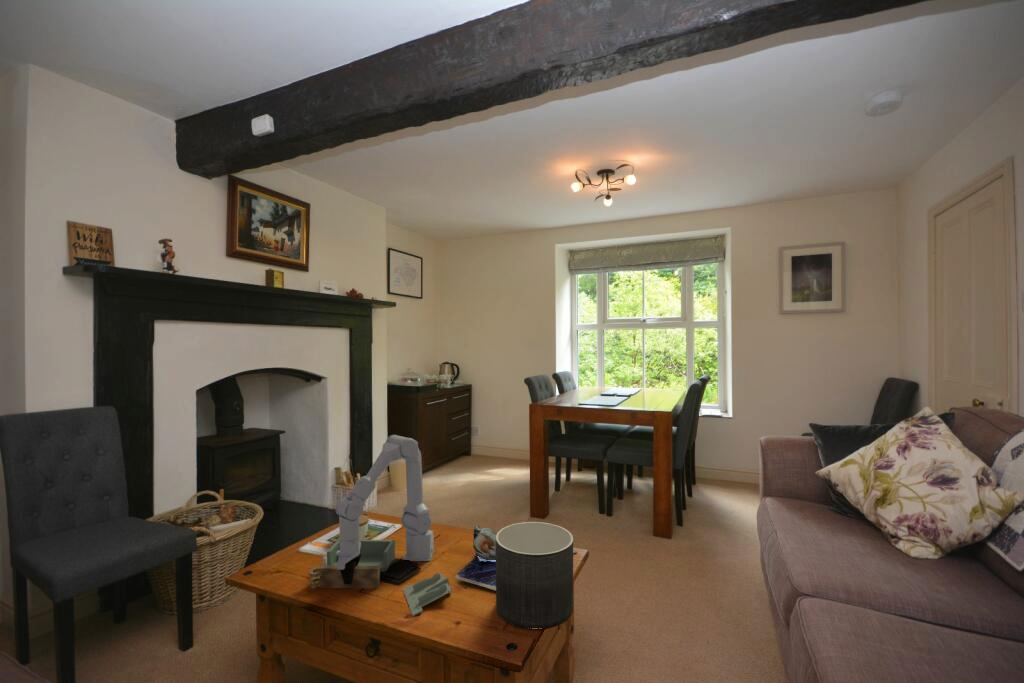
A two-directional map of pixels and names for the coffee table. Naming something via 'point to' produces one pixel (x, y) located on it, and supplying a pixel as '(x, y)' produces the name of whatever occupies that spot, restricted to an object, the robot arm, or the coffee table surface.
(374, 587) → the brown gear-headed lever
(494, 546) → the lucky cat figurine
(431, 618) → the coffee table surface
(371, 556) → the sage green open box
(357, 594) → the coffee table surface
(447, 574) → the coffee table surface
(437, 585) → the metal bracket
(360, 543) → the robot arm
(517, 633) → the coffee table surface
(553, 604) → the planter
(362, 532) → the lidded jar
